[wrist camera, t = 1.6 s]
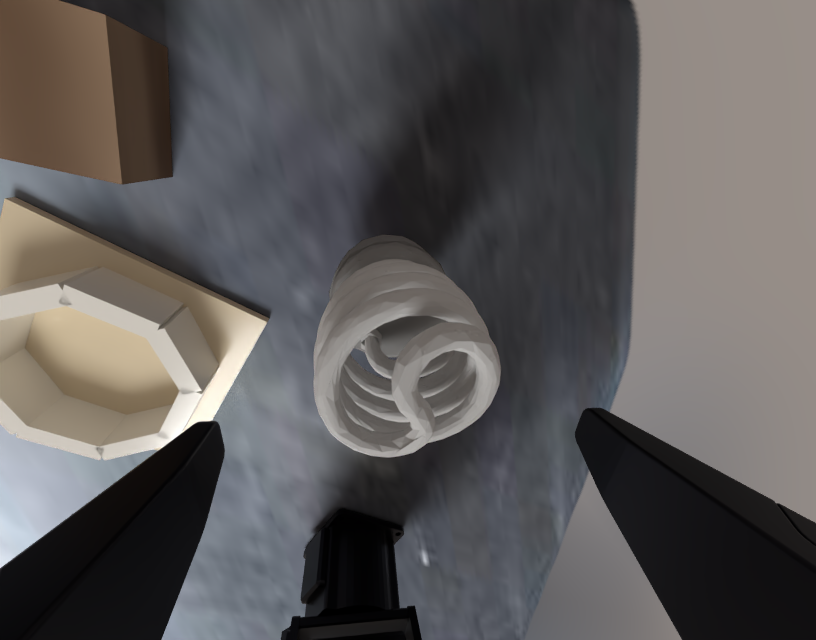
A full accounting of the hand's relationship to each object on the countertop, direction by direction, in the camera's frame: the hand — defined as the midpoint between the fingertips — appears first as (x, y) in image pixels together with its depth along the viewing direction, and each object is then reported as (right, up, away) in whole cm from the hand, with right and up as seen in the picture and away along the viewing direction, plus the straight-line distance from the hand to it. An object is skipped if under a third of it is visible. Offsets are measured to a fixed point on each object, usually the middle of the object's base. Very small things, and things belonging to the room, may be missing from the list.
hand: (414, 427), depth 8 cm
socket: (-16, +1, +11) cm, 20 cm away
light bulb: (-2, +6, +11) cm, 13 cm away
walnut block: (-13, +12, +6) cm, 19 cm away
